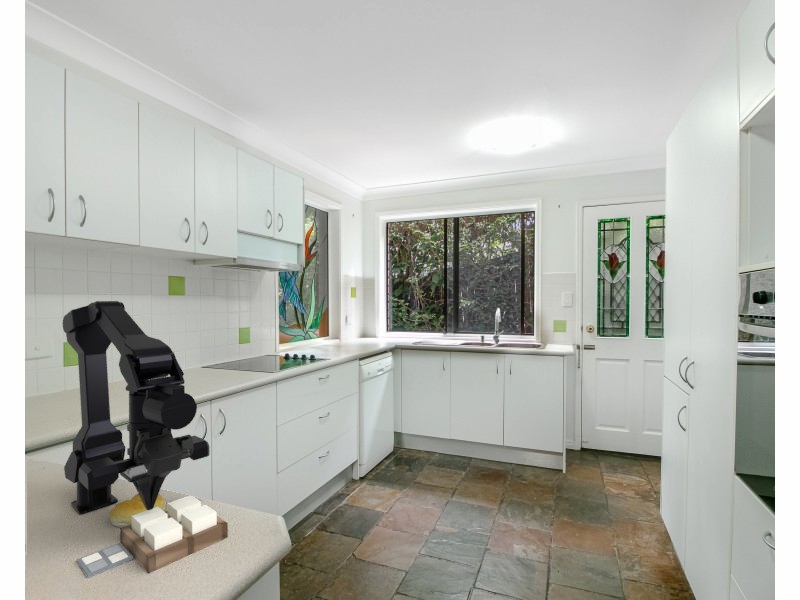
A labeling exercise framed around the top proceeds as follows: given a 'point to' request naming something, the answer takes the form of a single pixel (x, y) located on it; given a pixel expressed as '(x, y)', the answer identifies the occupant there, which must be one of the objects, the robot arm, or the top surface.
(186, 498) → the button
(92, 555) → the pattern card
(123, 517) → the bread roll
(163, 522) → the button
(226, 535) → the brown flat square grid
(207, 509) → the button
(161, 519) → the button
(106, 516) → the top surface
